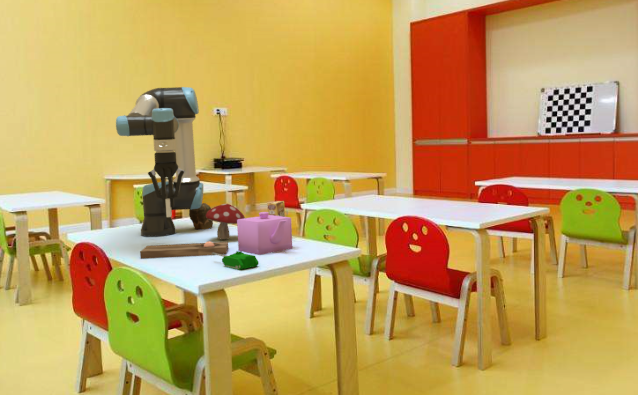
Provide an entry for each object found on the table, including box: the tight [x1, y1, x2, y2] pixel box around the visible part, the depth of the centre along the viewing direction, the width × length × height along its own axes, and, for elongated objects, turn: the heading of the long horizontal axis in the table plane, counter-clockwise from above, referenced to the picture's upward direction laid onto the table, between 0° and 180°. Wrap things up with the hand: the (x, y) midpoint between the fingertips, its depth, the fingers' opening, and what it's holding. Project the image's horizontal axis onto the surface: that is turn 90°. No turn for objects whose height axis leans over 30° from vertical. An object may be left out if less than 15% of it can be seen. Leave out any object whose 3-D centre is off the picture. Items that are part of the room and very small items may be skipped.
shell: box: [188, 202, 214, 230], centre depth 273 cm, size 11×11×12 cm
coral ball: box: [204, 240, 214, 247], centre depth 212 cm, size 4×4×4 cm
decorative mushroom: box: [206, 203, 245, 241], centre depth 237 cm, size 16×16×15 cm
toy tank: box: [212, 250, 259, 271], centre depth 188 cm, size 7×19×5 cm, turn 44°
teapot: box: [236, 211, 293, 256], centre depth 212 cm, size 15×25×14 cm, turn 41°
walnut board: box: [139, 241, 229, 260], centre depth 211 cm, size 12×30×2 cm, turn 95°
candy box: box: [267, 200, 286, 217], centre depth 234 cm, size 9×4×15 cm, turn 163°
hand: (169, 216), depth 210 cm, fingers closed
